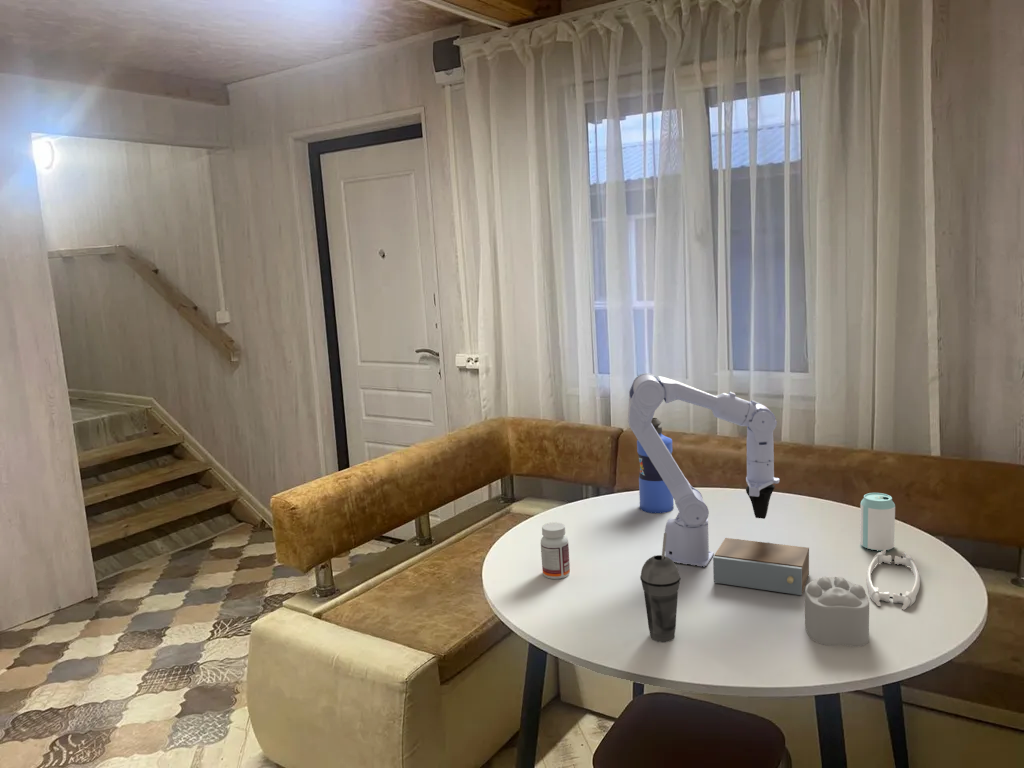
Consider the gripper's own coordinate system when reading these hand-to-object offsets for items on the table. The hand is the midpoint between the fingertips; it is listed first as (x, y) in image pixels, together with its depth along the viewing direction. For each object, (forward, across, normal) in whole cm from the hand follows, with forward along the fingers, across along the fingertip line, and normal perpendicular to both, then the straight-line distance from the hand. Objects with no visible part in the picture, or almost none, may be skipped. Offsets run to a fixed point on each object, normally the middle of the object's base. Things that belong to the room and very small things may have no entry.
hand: (760, 517), depth 174 cm
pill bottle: (+10, -24, +40) cm, 48 cm away
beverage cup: (+10, -42, +10) cm, 44 cm away
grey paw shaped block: (+10, -28, -18) cm, 35 cm away
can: (+10, +14, -23) cm, 29 cm away
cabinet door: (+9, -17, -2) cm, 20 cm away
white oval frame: (+10, -4, -27) cm, 29 cm away
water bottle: (+10, +24, +32) cm, 41 cm away
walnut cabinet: (+9, -11, -2) cm, 15 cm away
